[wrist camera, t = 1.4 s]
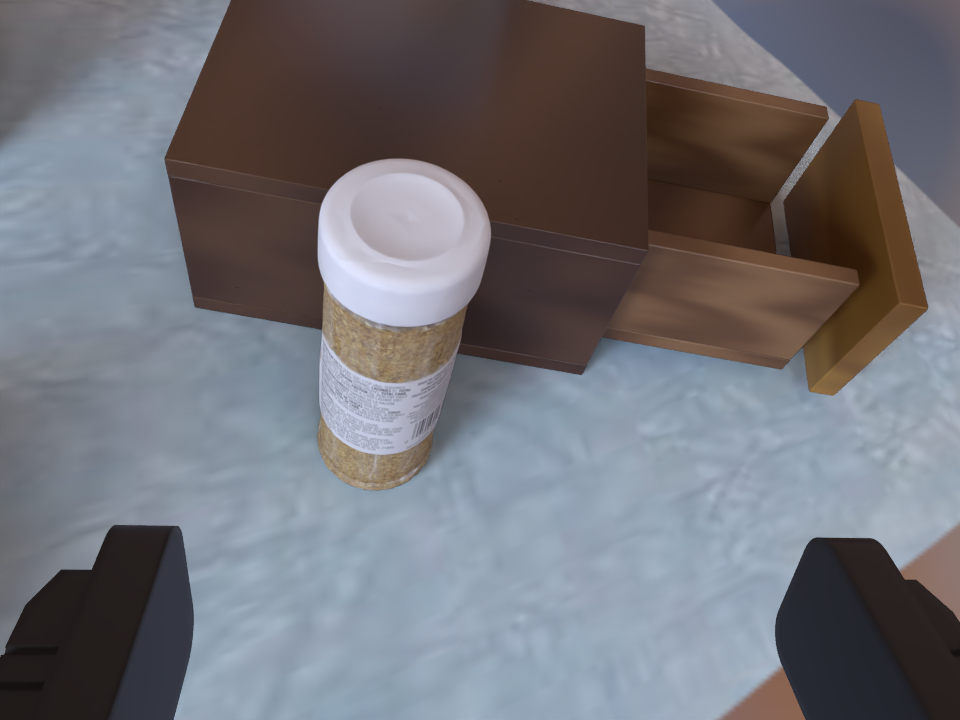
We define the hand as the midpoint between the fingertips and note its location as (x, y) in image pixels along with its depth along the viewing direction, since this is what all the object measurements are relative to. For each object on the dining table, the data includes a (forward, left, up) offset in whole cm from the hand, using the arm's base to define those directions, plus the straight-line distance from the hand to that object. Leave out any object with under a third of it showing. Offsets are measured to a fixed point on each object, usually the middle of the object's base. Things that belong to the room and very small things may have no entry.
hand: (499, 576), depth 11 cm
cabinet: (-18, +13, -20) cm, 30 cm away
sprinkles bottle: (-10, +5, -20) cm, 23 cm away
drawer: (-10, +22, -19) cm, 31 cm away
